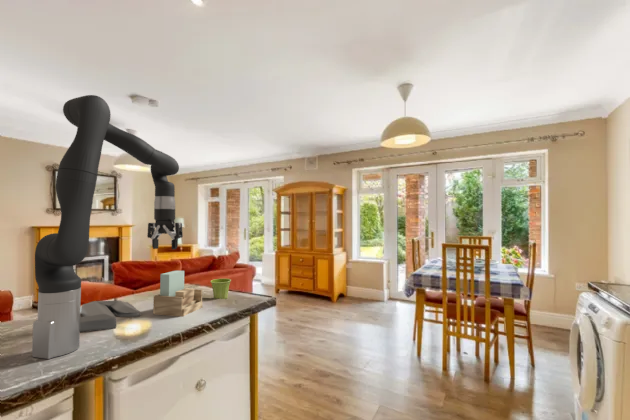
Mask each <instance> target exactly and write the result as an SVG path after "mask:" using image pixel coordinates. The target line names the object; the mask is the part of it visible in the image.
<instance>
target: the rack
mask: <svg viewBox="0 0 630 420" xmlns="http://www.w3.org/2000/svg"><path fill="white" fill-rule="evenodd" d="M193 289H194V300H196V304H193V305H191V306H189V307H186V308H184V309H183V297H172V296H160V293H159V294H158V293H157V294H155V295H153V307H152V308H153V309H152V310H153V311H152V312H153V313H152V314H153V315H158V316H160V315H161V316H168V317H169V316H171V317H181V318H182V317H183V318H184V316H187V315H189V314H191V313H193V312H196V311H198V310H200V309H202V308H203V289H195V288H193Z"/></svg>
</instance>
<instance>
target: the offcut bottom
mask: <svg viewBox="0 0 630 420" xmlns="http://www.w3.org/2000/svg"><path fill="white" fill-rule="evenodd" d="M193 304H196V300H194V301H193V302H190V303H188V304H186V305H184V306H183V309H184V308H186V307H189V306H191V305H193Z"/></svg>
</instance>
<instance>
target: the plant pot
mask: <svg viewBox="0 0 630 420" xmlns="http://www.w3.org/2000/svg"><path fill="white" fill-rule="evenodd" d="M231 282H232V279H230V278H216V279H212V280H210V284H211V287H212V292H213V294H212V295H213V299H215V300H217V299H218V300H227V299H228V295H229V291H230V290H229V288H230V284H231Z"/></svg>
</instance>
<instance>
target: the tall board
mask: <svg viewBox="0 0 630 420" xmlns="http://www.w3.org/2000/svg"><path fill="white" fill-rule="evenodd" d="M159 277H160V281H159V282H160V284H159V285H160V287H159V294H160V296H172V297H175V292H176V291H179V290H182V289H185V270H172V271H168V272H165V273H160V276H159Z"/></svg>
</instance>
